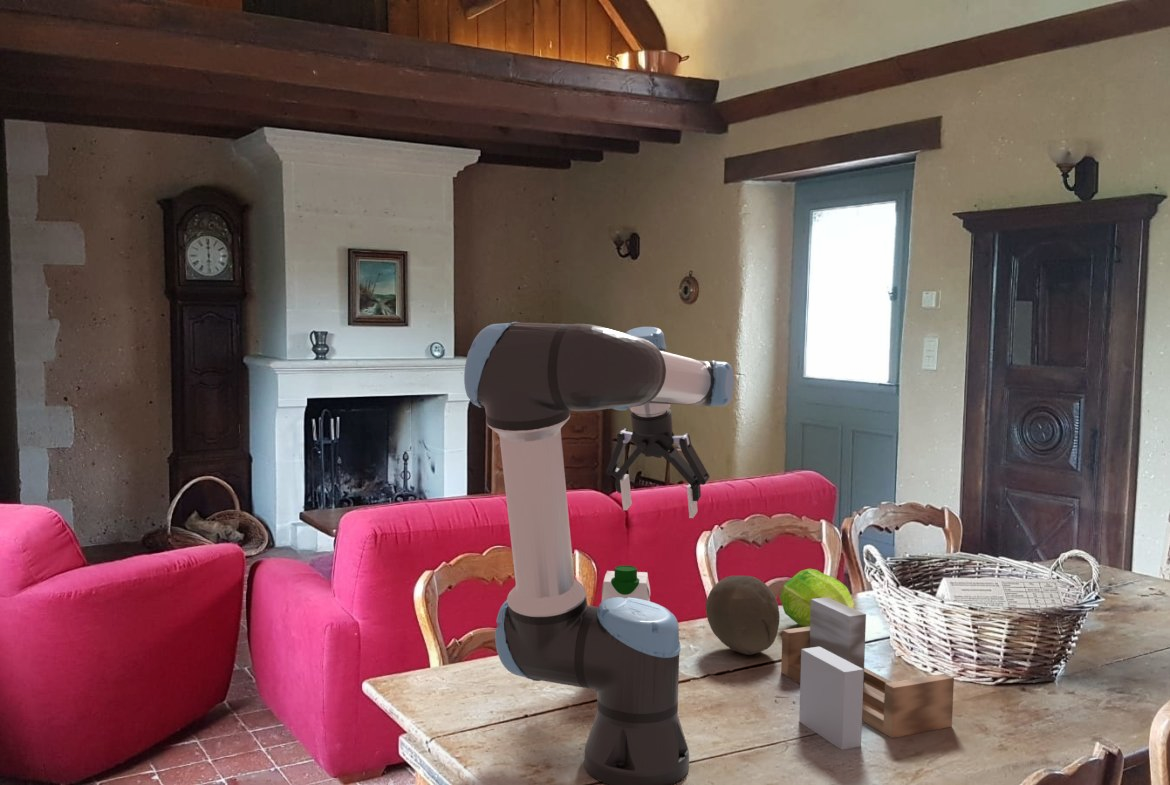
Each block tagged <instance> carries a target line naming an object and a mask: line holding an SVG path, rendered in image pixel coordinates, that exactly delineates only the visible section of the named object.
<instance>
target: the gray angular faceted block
mask: <svg viewBox="0 0 1170 785" xmlns="http://www.w3.org/2000/svg"><path fill="white" fill-rule="evenodd" d="M863 675H864V669H862V668H860V667H858V666H856V665H854V664H852V663H851V662H849V661H847V660H845V659H843V658H841V657H839V656H837V655H835V654H833V653H831V652H829V651H827V650H825V649H823V648H822V647H820V646H819V647H812V648H805V649H801V679H800V686H799V712H798V713H799V718H798V721H799V723H801V724H802V725H803V726H805V727H807V728H808V729H810V730H811V731H813V732H814V733H816V734H818V736H821V738H823V739H825V740H826V741H828V742H829V743H831V744H832V745H834V746H836V747H837V748H839V749H841V750H849V749H853V748H854V749H855V748H858V747H862V734H863V733H862V730H863V729H862V727H863V721H862V704H863Z"/></svg>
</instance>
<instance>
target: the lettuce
mask: <svg viewBox="0 0 1170 785" xmlns="http://www.w3.org/2000/svg"><path fill="white" fill-rule="evenodd" d="M781 589H782V590H781V592H780V595H779V599H780V602H781V605H782V610H783V612H784V614H785V615H786V616H788V617H789V618H790V619H791V620H792V621H793V622H795V623H796V624H797V625H799V626H800V628H801V627H809V626H810V614H811V599H816V598H825V597H827V598H830V599H832V600H834V601H837V602H839V603H841V604H844V605H846V606H848V607H850V608H853V609H855V610H856V606H855V603H854V600H853V598H852V595H851V593H850V591H849V589H848V587H847V586H846V585H845V584H844V583H842V581H841V580H839V579H837V578H835V577H833V576H830V575H829V574H825V573H823V572H821V571H820V570H818V569H815V568H814V569H813V568H807V569H803V570H800V571H799V572H796V574H795V575H793V576H792V577H791V578H790V579H789V580H787V582H785V583H784V584H783V586H782V588H781Z"/></svg>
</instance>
